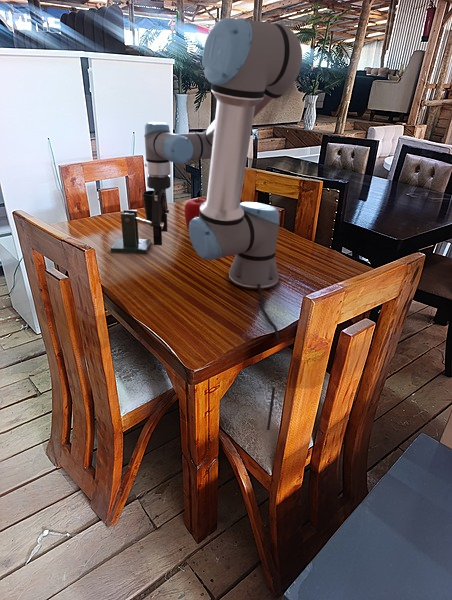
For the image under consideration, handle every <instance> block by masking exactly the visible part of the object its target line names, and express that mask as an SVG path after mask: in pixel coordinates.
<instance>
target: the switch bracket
mask: <svg viewBox="0 0 452 600" xmlns="http://www.w3.org/2000/svg"><path fill="white" fill-rule="evenodd" d="M126 212H129V213H132V214H128V213H126ZM135 217H137V218H138V210H137V209H123V212H121V213H120V223H121V235H122V237H117V238H116V239H115V241H114V243H113V244H112V246H111V247H110V253H120V254H141V255H142V254H144V255H146V254H147V253H148V250H149V249H150V247H151V245H152V239H149V238H140V236H139V222H137V221H135Z"/></svg>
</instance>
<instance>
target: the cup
mask: <svg viewBox="0 0 452 600" xmlns="http://www.w3.org/2000/svg"><path fill="white" fill-rule="evenodd" d="M153 194H154V190H144V191H143V192H142V198H143V199H142V200H143V207H144V212H145V220H147V221H151V222H152V195H153ZM155 223H157V222H155Z"/></svg>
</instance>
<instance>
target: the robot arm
mask: <svg viewBox="0 0 452 600" xmlns="http://www.w3.org/2000/svg"><path fill="white" fill-rule="evenodd" d="M302 62H303V49H302V45H301V42H300V40H299V38H298V36H297V35H296V33H295V32H294V31H293V30H292V29H290V28H289V27H288V26H286V25H283V24H280V23H271V22H266V21H260V20H259V21H258V20H253V19H252V20H251V19H247V18H244V17H225V18H222V19H220V20H219V21H217V22H216V23H215V24H214V25H213V27H212V28H211V29H210V30H209V32H208V34H207V36H206V39H205V42H204V45H203V51H202V68H203V69H204V70H203V73H204V76H205V78H206V80H207V81H208V82H209V83H211V87H210V91H211V93H212V94H213V95H214V97H215V100H216V108H215V116H214V120H213V121H212V122H211V123H210V125H209V126H208V127H207V128H206V129H205V130H204V131H202V132H193V133H192V132H191V133H190V132H189V133H171V131H170V130H171V129H170V125H169V123H167V122H161V121H148V122H147V123H145V125H144V135H143V137H144V146H145V149H144V150H145V163H144V167H145V168H146V174H147V176H146V187H148V188H149V189H153V191H154V194H153V195H152V224H150V225H149V226H150V227H152V238H153V240H152V241H153V246H162V245H163V233H167V232H168V214H170V210H169V209H168V208H169V207H168V199H167V189H170V188H171V184H172V183H171V163H173V164H178V165H183V164H186V163H187V162H189V161H196V160H208V159H209V160H210V164H209V172H208V184H207V191H206V192H207V193H206V202H204V203H203V204H202V205H201V206H200V211H199V217H195V218H193V219H192V220H191V221H190V224H189V230H188V235H189V240H190V243H191V245H192V247H193V250H194V252H195V253H196V254H197V255H198V256H199V257H200V258H201V259H202V260H206V261H212V260H221V259H222V258H226V257H231V256H234V255H235V256H234V259H233V261H232V263H231V265H230V268H229V271H228V272H229V273H228V280H229V282H230V283H231V284H233V285H234V286H236V287H238V288H240V289H243V290H244V289H245V290H249V291H258V292H259V296H260V309H261V312H262V314H263V316H264V317H265V319H266V320H267V322H268V324H269V325H270V326H271V327H272V329H273V331H274V334H275V338H276V340H280V335H279V331H278V330H279V329H278V328H277V326H276V325H275V323H274V322H273V321H272V320H271V319H270V317H269V315H268V314H267V312H266V310H265V308H264V303H265V302H264V301H265V300H264V295H263V291H266V290H269V289H272V288H275V287H276V286H278V283H279V279H280V276H279V269H278V265H277V261H276V251H277V245H278V237H279V231H280V230H279V229H280V225H281V224H280V215H281V214H280V211H279V209H278V208H276V207H275V206H272V205H269V204H265V203H261V202H256V201H255V202H254V201H243V202H241V200H242V199H241V198H242V193H243V185H244V180H245V174H246V166H247V161H248V154H249V149H250V143H251V142H250V141H251V135H252V128H253V123H254V119H255V118H256V117H257V115H259V114H260V113H261V111H263V109H264V108H266V106H267V105H268V104H270V102H272V100H278V99H279V98H281V97H282V96H283V95H284V94H285V93H286V92H287V91H288V90H290V88H291V87H292V86H293V84H294V83H295V81H296V80H297V78H298V77H299V74H300V72H301V68H302ZM155 222H157V223H155ZM161 222H163V223H164V226H163V228H162V226H161ZM275 393H276V387H273V386H272V388H271V397H270V404H269V410H268V411H269V412H268V420H267V426H266V431H267V430H269V431H270V430H271V429H270V428H271V422H272V414H273V408H274V401H275Z"/></svg>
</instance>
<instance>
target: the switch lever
mask: <svg viewBox="0 0 452 600" xmlns="http://www.w3.org/2000/svg"><path fill="white" fill-rule="evenodd" d="M126 213H128V214H132V213H129V212H126ZM135 221H137V222H138V223H141V224H144V225H148V226H150V224H152V222H151V221H147V220H146V219H144V218H140V217H138V216H137V217H135ZM161 226H162V228H163V226H164V223H163V222H161Z"/></svg>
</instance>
